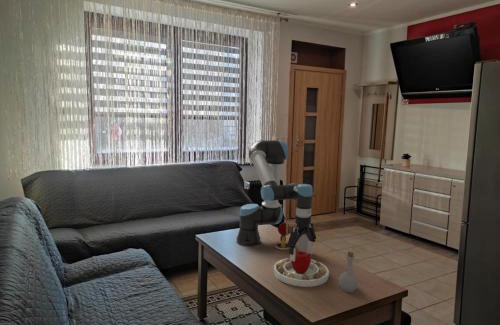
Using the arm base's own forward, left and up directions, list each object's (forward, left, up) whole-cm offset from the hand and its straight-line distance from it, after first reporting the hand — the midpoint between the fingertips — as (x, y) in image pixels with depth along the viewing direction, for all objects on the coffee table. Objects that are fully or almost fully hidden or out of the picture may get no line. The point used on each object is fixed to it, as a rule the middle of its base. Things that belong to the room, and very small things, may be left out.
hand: (301, 256), depth 174 cm
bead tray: (0, 0, -9) cm, 9 cm away
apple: (0, -1, -8) cm, 8 cm away
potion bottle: (+24, +5, -9) cm, 26 cm away
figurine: (-31, +21, -9) cm, 38 cm away
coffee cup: (-17, +24, -9) cm, 30 cm away
